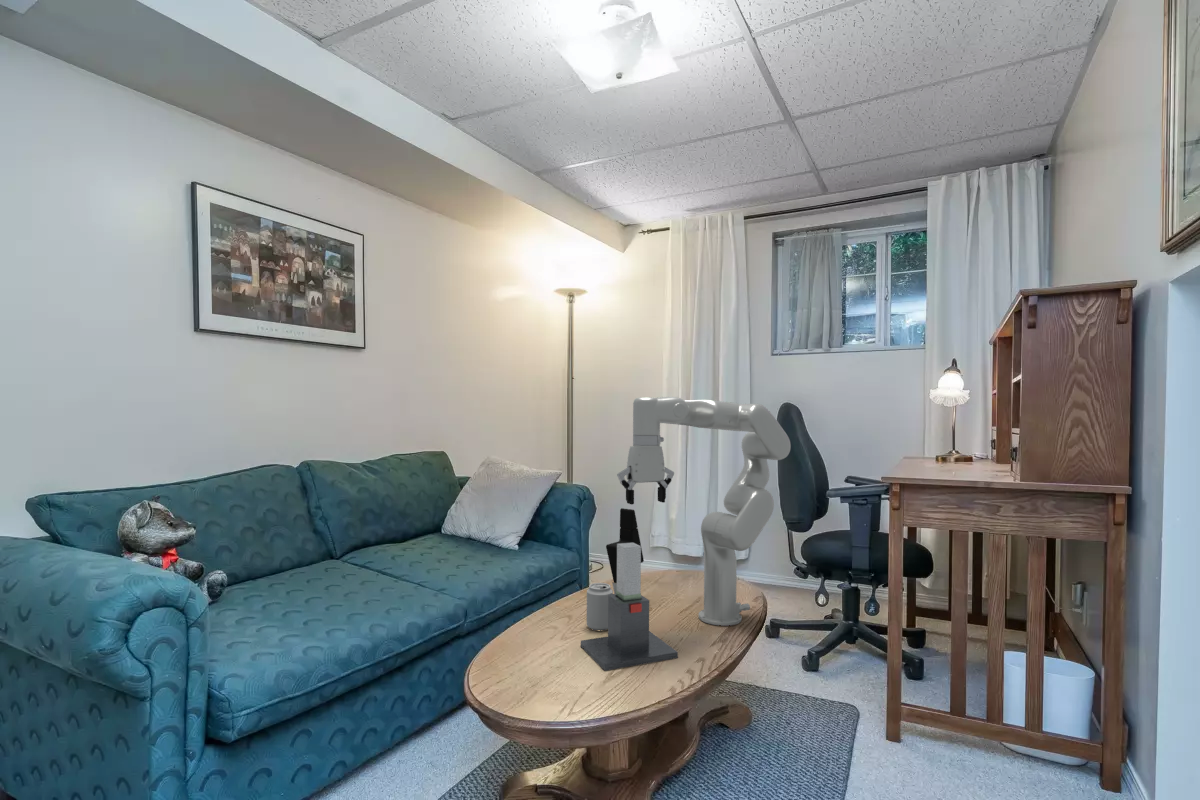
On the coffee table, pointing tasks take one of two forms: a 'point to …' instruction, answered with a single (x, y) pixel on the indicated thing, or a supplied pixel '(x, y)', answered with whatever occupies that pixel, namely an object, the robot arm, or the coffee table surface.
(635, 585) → the column
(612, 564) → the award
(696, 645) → the coffee table surface
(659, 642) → the stand housing
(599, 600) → the can
